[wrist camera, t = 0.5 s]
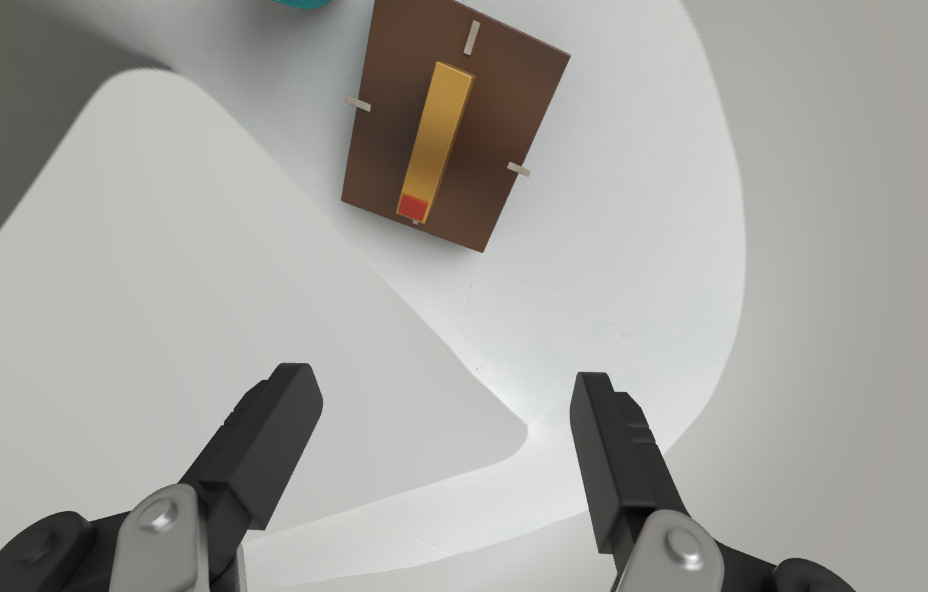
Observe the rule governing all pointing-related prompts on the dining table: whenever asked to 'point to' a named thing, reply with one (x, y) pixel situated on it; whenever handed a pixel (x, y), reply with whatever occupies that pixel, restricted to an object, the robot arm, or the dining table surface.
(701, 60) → the dining table surface
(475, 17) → the dial base
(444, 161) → the yellow red-tipped block
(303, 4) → the beverage can
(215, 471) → the robot arm
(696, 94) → the dining table surface
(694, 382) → the dining table surface
